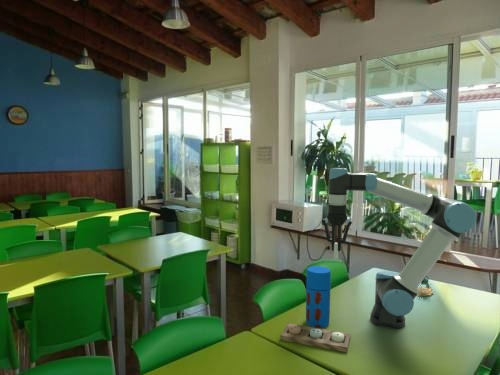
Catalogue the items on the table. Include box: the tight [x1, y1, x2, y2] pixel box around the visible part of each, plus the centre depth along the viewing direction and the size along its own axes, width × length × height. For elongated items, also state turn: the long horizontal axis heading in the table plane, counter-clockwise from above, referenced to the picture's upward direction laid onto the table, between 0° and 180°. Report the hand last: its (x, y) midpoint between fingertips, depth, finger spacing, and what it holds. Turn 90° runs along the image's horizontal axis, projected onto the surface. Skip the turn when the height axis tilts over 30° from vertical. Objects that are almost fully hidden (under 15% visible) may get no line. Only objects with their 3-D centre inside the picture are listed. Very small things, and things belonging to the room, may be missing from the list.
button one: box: [331, 331, 345, 343], centre depth 152 cm, size 5×5×3 cm
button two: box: [309, 327, 322, 339], centre depth 155 cm, size 5×5×3 cm
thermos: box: [305, 265, 332, 329], centre depth 170 cm, size 11×11×25 cm
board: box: [280, 323, 351, 353], centre depth 155 cm, size 27×12×2 cm, turn 69°
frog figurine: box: [416, 275, 434, 297], centre depth 208 cm, size 10×18×15 cm, turn 121°
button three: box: [289, 324, 301, 335], centre depth 158 cm, size 5×5×3 cm
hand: (335, 258), depth 161 cm, fingers closed
